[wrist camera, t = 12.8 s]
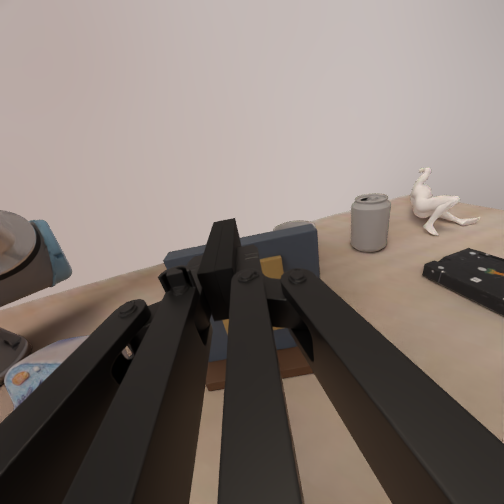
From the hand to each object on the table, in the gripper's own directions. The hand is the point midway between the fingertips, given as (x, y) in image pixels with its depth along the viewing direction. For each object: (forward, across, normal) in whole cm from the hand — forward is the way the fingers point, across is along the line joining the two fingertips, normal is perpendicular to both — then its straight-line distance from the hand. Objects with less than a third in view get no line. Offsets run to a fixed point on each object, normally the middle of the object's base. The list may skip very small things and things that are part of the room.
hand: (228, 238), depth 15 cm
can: (+30, +28, -21) cm, 46 cm away
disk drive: (+10, +36, -21) cm, 43 cm away
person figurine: (+38, +47, -21) cm, 64 cm away
